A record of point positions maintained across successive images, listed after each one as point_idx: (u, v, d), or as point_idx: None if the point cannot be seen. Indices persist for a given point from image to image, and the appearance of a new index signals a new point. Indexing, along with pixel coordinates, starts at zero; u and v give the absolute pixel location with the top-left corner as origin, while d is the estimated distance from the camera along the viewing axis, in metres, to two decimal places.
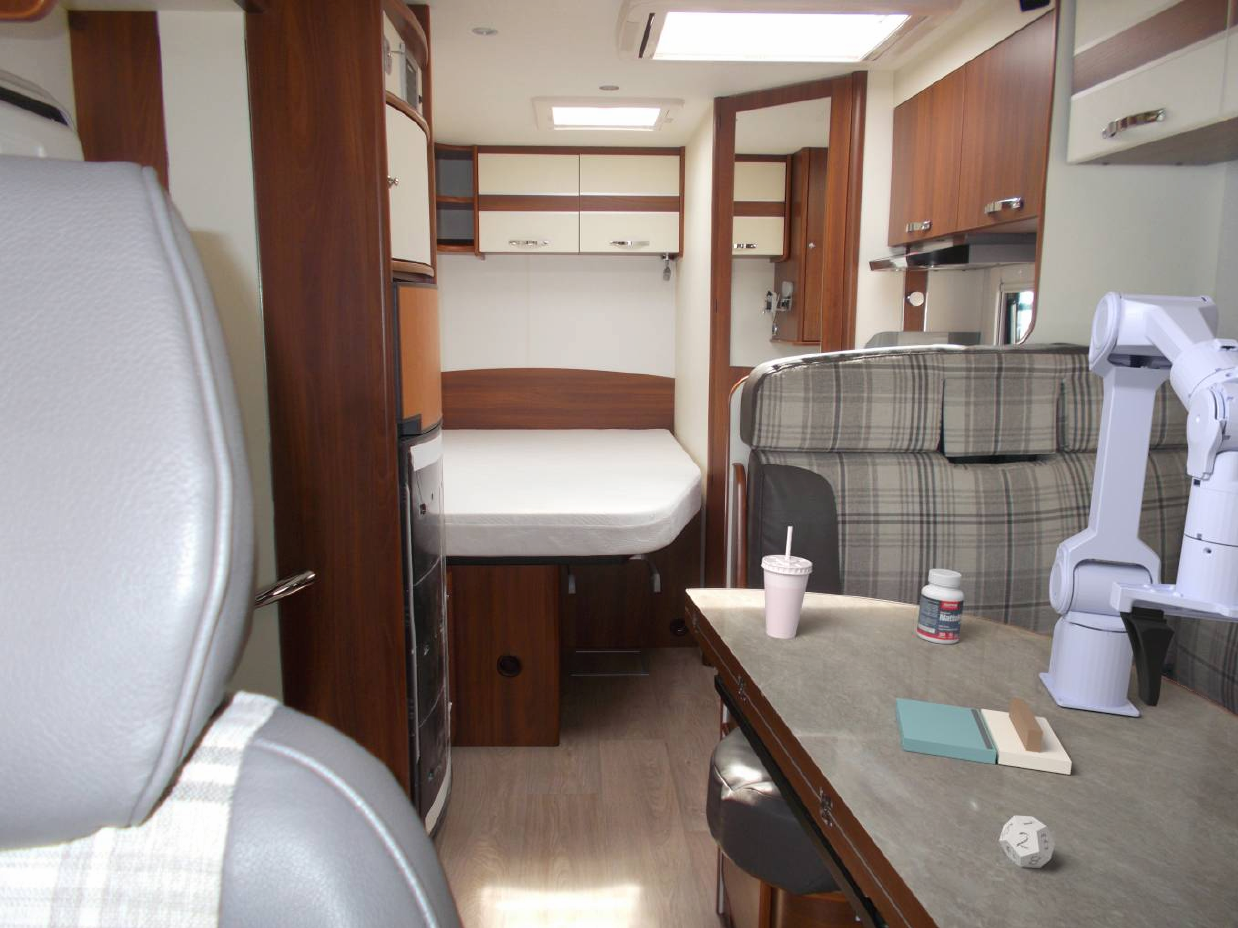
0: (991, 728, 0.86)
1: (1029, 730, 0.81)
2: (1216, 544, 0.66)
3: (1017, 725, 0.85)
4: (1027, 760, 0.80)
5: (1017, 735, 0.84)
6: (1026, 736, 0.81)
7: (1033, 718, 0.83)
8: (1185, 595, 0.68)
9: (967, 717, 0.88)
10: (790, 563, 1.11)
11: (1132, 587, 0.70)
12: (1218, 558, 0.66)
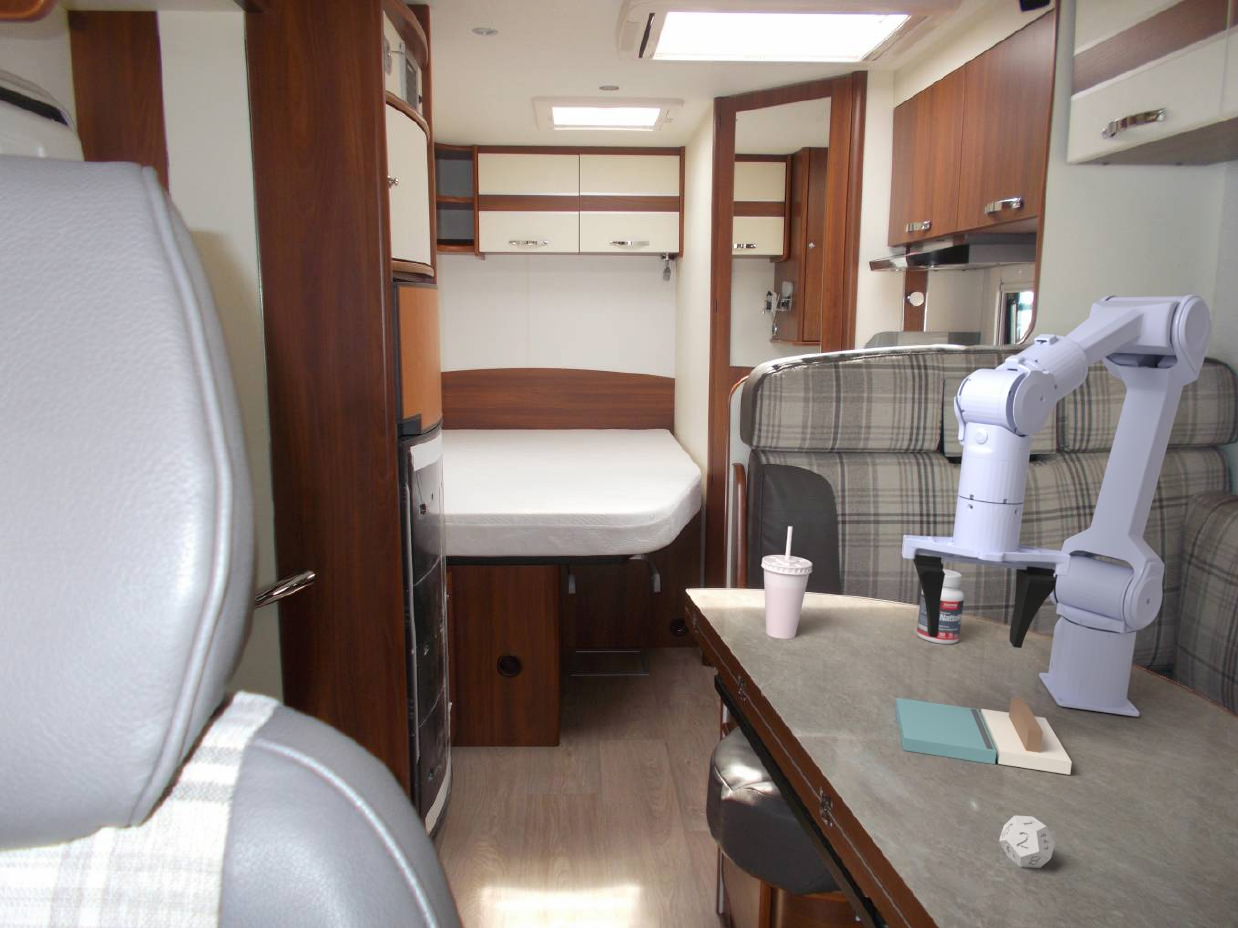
0: (991, 728, 0.86)
1: (1029, 730, 0.81)
2: (975, 501, 0.81)
3: (1017, 725, 0.85)
4: (1027, 760, 0.80)
5: (1017, 735, 0.84)
6: (1026, 736, 0.81)
7: (1033, 718, 0.83)
8: (956, 544, 0.83)
9: (967, 717, 0.88)
10: (790, 563, 1.11)
11: (916, 538, 0.85)
12: (977, 512, 0.81)
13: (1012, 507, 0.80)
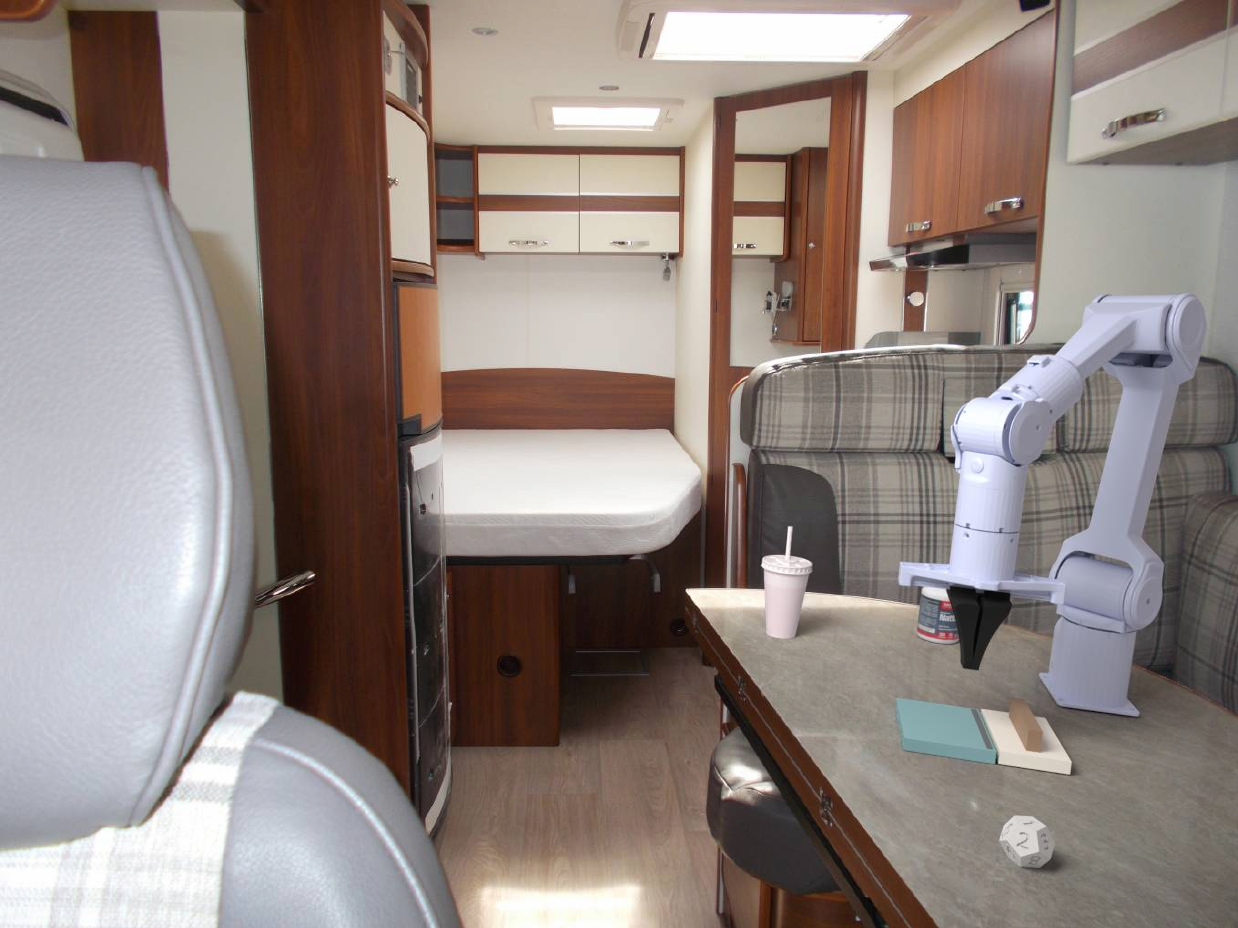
0: (991, 728, 0.86)
1: (1029, 730, 0.81)
2: (972, 529, 0.81)
3: (1017, 725, 0.85)
4: (1027, 760, 0.80)
5: (1017, 735, 0.84)
6: (1026, 736, 0.81)
7: (1033, 718, 0.83)
8: (952, 572, 0.83)
9: (967, 717, 0.88)
10: (790, 563, 1.11)
11: (913, 566, 0.85)
12: (973, 541, 0.81)
13: (1008, 536, 0.81)
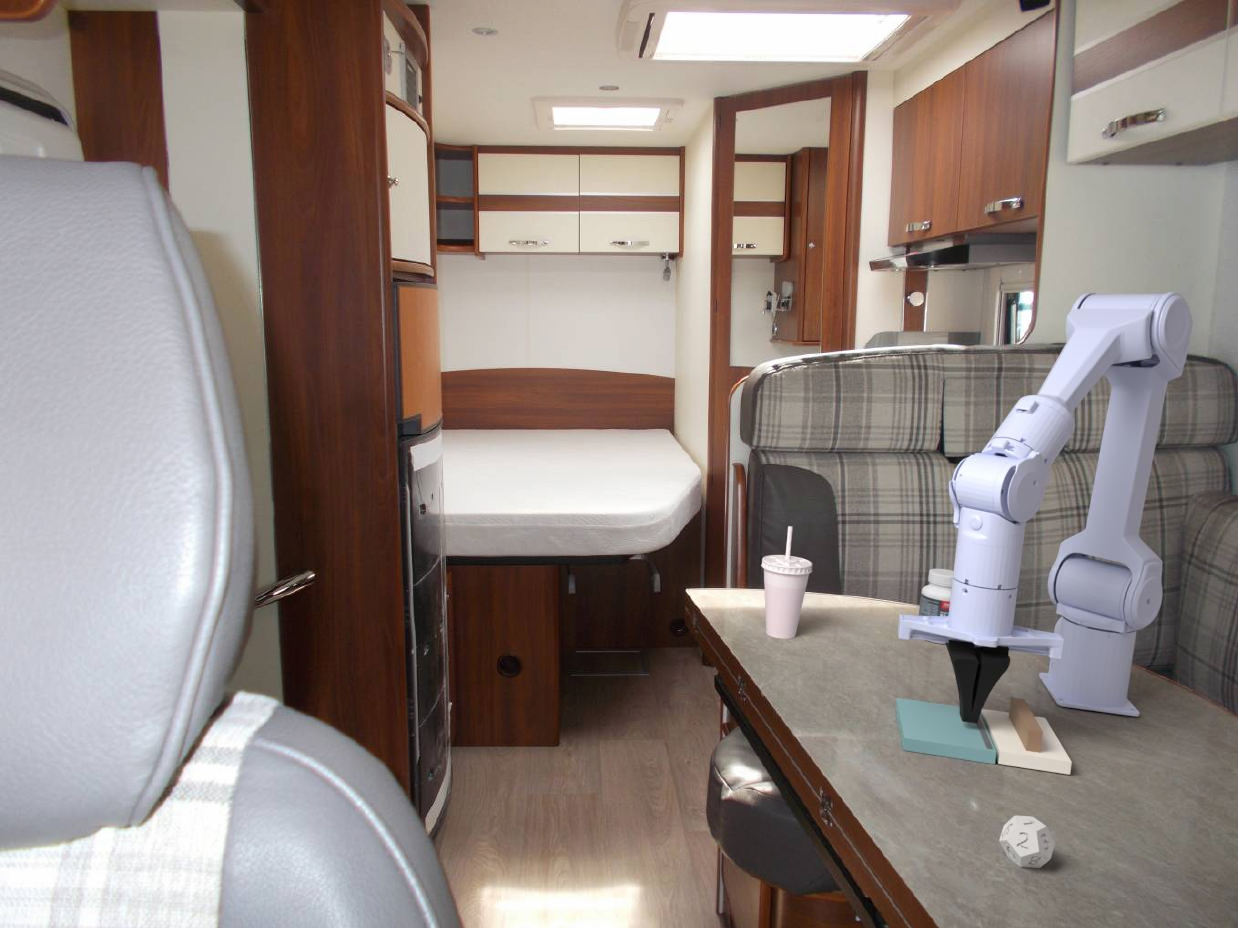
0: (991, 728, 0.86)
1: (1029, 730, 0.81)
2: (970, 586, 0.82)
3: (1017, 725, 0.85)
4: (1027, 760, 0.80)
5: (1017, 735, 0.84)
6: (1026, 736, 0.81)
7: (1033, 718, 0.83)
8: (951, 626, 0.84)
9: None
10: (790, 563, 1.11)
11: (912, 619, 0.86)
12: (971, 597, 0.82)
13: (1006, 592, 0.81)
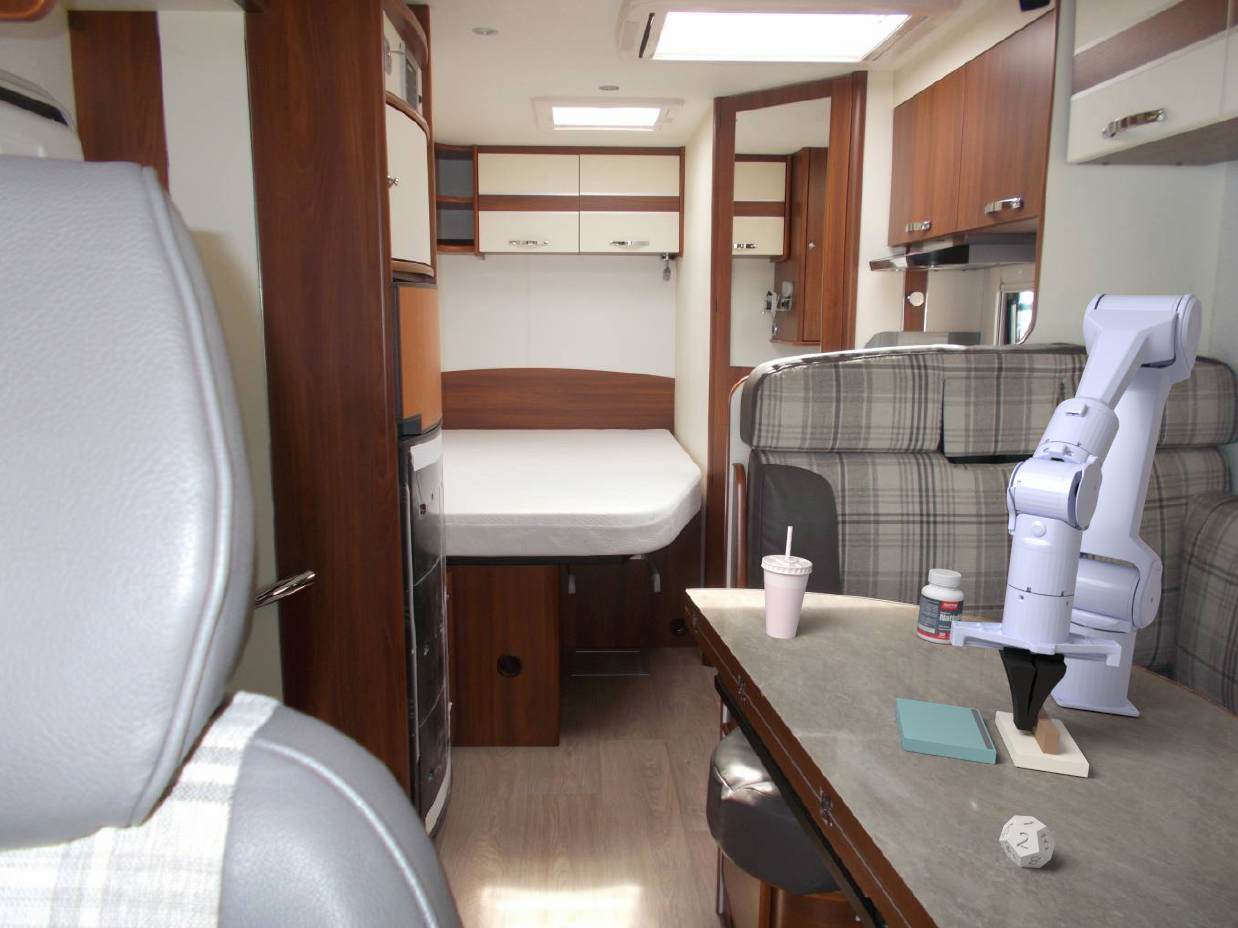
0: (1007, 730, 0.85)
1: (1046, 732, 0.81)
2: (1027, 592, 0.81)
3: (1033, 727, 0.85)
4: (1044, 763, 0.80)
5: (1033, 737, 0.84)
6: (1043, 738, 0.81)
7: (1049, 720, 0.83)
8: (1006, 633, 0.83)
9: (967, 717, 0.88)
10: (790, 563, 1.11)
11: (965, 626, 0.85)
12: (1028, 604, 0.81)
13: (1064, 599, 0.80)
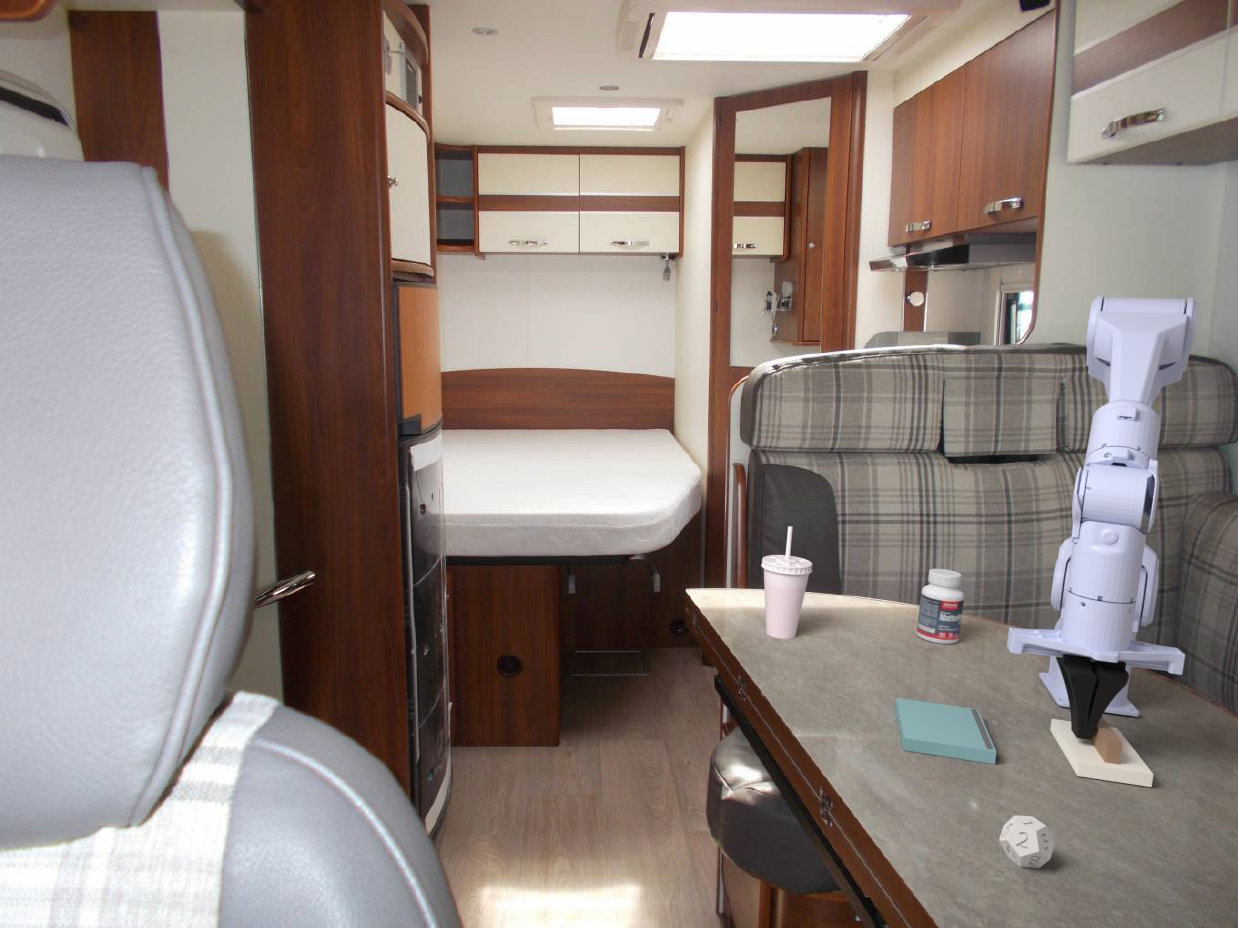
0: (1065, 739, 0.84)
1: (1108, 741, 0.79)
2: (1088, 599, 0.80)
3: None
4: (1107, 772, 0.79)
5: (1093, 746, 0.83)
6: (1105, 748, 0.80)
7: (1110, 729, 0.82)
8: (1066, 640, 0.82)
9: (967, 717, 0.88)
10: (790, 563, 1.11)
11: (1024, 633, 0.84)
12: (1090, 611, 0.80)
13: (1127, 606, 0.79)
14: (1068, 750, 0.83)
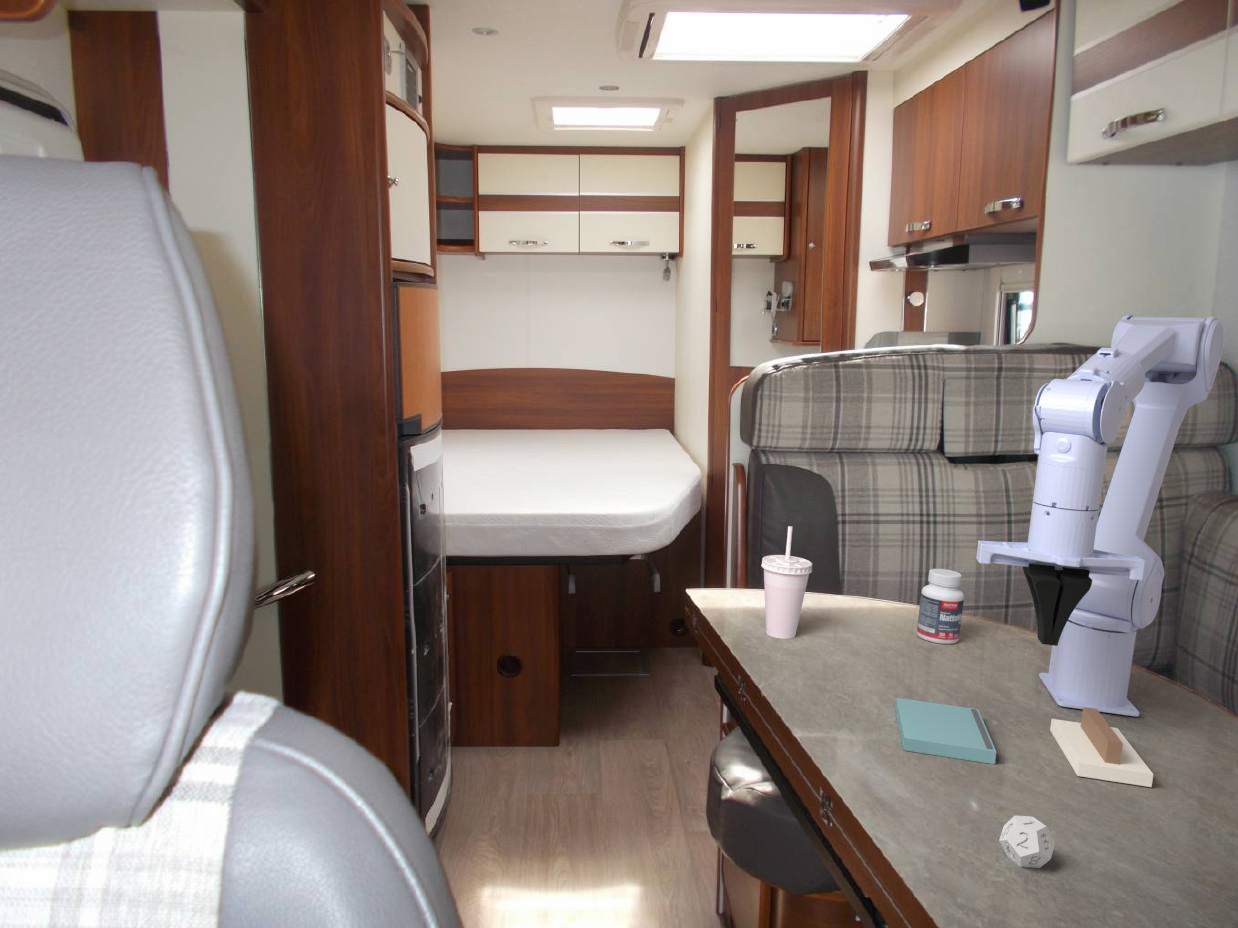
0: (1065, 739, 0.84)
1: (1108, 741, 0.79)
2: (1053, 508, 0.83)
3: (1092, 736, 0.84)
4: (1107, 772, 0.79)
5: (1093, 746, 0.83)
6: (1105, 748, 0.80)
7: (1110, 729, 0.82)
8: (1032, 549, 0.85)
9: (967, 717, 0.88)
10: (790, 563, 1.11)
11: (992, 544, 0.87)
12: (1054, 519, 0.83)
13: (1089, 514, 0.83)
14: (1068, 750, 0.83)
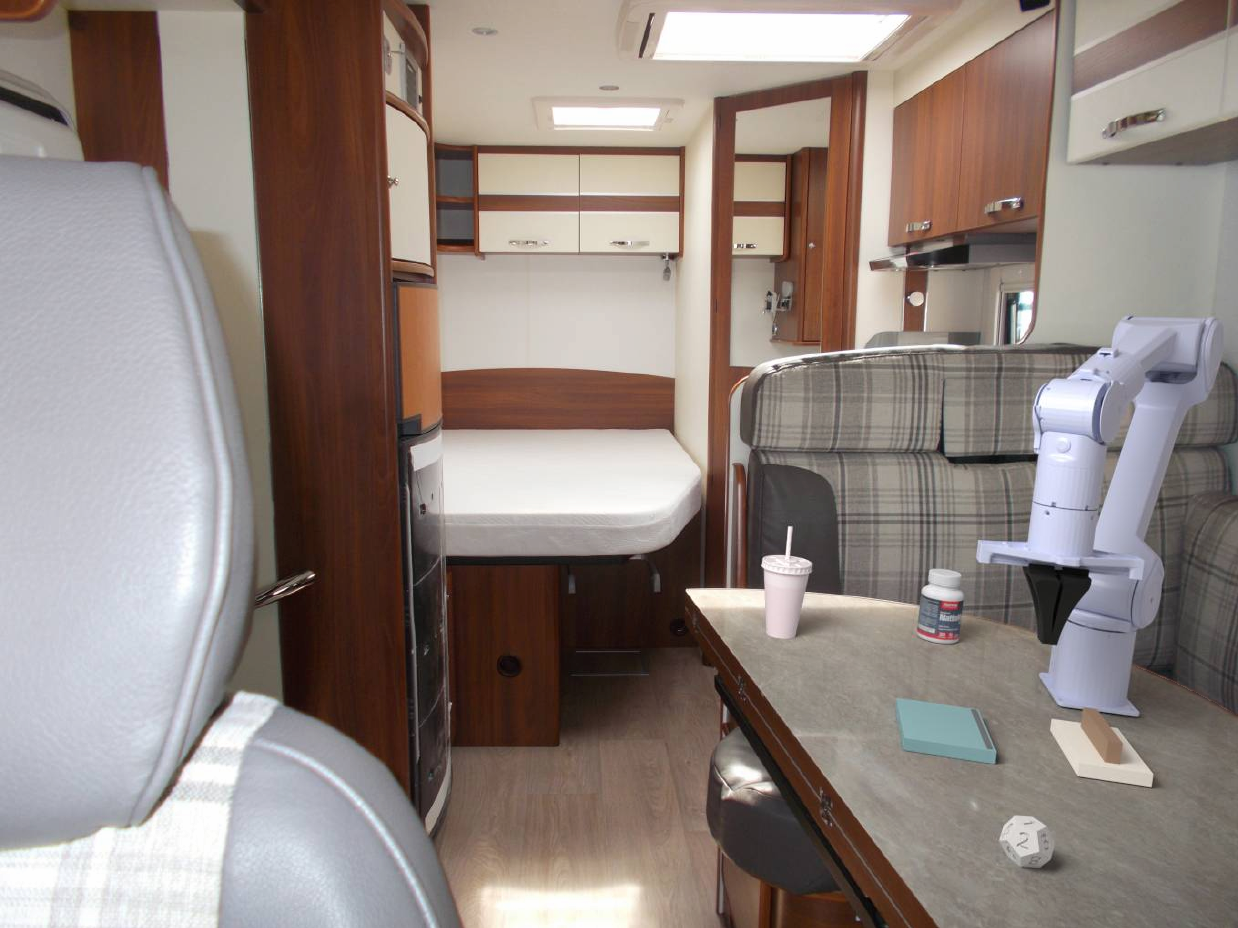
0: (1065, 739, 0.84)
1: (1108, 741, 0.79)
2: (1052, 507, 0.83)
3: (1092, 736, 0.84)
4: (1107, 772, 0.79)
5: (1093, 746, 0.83)
6: (1105, 748, 0.80)
7: (1110, 729, 0.82)
8: (1031, 549, 0.85)
9: (967, 717, 0.88)
10: (790, 563, 1.11)
11: (992, 543, 0.87)
12: (1054, 518, 0.83)
13: (1088, 513, 0.83)
14: (1068, 750, 0.83)
